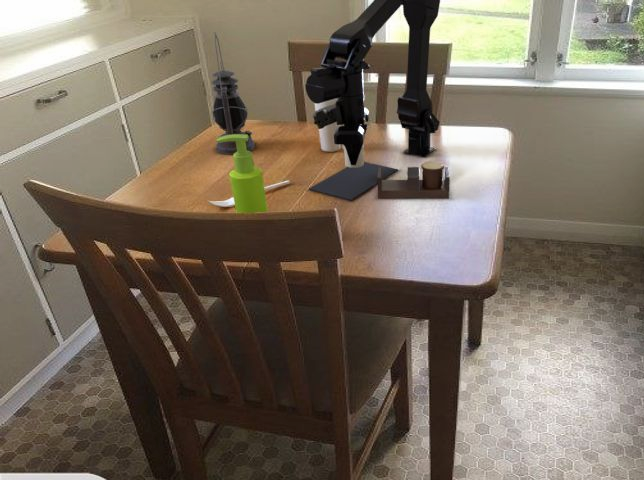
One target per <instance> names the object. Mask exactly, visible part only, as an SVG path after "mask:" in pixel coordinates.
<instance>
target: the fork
mask: <svg viewBox="0 0 644 480" xmlns="http://www.w3.org/2000/svg"><path fill="white" fill-rule="evenodd" d="M288 184H291V181H290V180H285V181H281V182H278V183H274V184H271V185H266V186H264V189H265V192H266V191H269V190H272V189H276V188H279V187H282V186H285V185H288ZM208 202H209V203H210V204H211V205H214V206H216V207H222V208H232V207H235V203H234V197H233V196H232V197H230V198H227V199H225V200H221V201H220V200H218V201H217V200H208Z"/></svg>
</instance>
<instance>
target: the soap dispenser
mask: <svg viewBox="0 0 644 480" xmlns="http://www.w3.org/2000/svg"><path fill="white" fill-rule="evenodd" d="M218 137H219V136H218ZM218 137H217V139H216V142H217V143H222V142H227V141H236V147H237V152H236V153H234V154H233V155H232V157H233V162H234V163H233V164H234V168H233V170H230V171H229V173H228V175H229V180H230V187H231V192H232V197H234V203H235V206H234V207H235V213H255V212H268V213H269V209H268V201H267V197H266V196H267V195H266V191H265V189H264V187H265V182H264V176H263V170H262V168H260V167H259V166H255V164H254V162H255V161H254V155H253V152H252V151H247V148H246V142H245V141H248V138H249V137H248V135H243V134H232V135H226V136H222V137H219V138H218Z"/></svg>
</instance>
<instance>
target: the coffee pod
mask: <svg viewBox="0 0 644 480" xmlns="http://www.w3.org/2000/svg"><path fill="white" fill-rule="evenodd" d="M342 149H343V151H344V154H343V156H344V165H345V167H346V168H347V167H350V168H357V167H361V166H363V165H364V162H365V158H364V157H365V155H364V149H365V143H363V145H362V148H361V151H360V154H359V157H358V160H357V163H356V165H351V163H350V160H349V157H348V154H347V151H346V148H345V146H344V145H343V144H342Z"/></svg>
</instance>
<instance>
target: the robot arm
mask: <svg viewBox="0 0 644 480" xmlns="http://www.w3.org/2000/svg"><path fill="white" fill-rule="evenodd" d="M440 4H441V0H373V1H372V2H371V3H370V4H369V5H368V6H367V8H365V9H364V11H363V12H362V13H360V15H359V16H358V17H357V18H356V19H354V21H350V22H348V23H346V24H343V25H342V26H341V27H339V28H338V29H336V30H334V32H333V33H332V35H331V36H330V38H329V43H328V45H327V48H326V51H325V53H324V56H323V58H322V60H321V62H320V67H313V68H311V69H310V75H309V76H308V77H307V78H306V83H305V92H306V95H307V97H308V99H309V100H310V101H311V102H312V103H313V104H314V103H316V104H319V103H322V102H326V101H329V100H332V99H336V98H337V101H336V103H335V104H332V105H329V106H327V107H324V108H322V109H319V110H317V111H315V110H314V113H313V114H312V118H313V124H314V125H316V127H317V128H319V129H322V128H324V127H325V126H327V125H330V124H333V123H335V122H337V125H341V126H339V127H338V128H337V129H336V131H335V133H334V144H337V145H342V146H343V145H344V146H345V148H346V151H347V154H348V157H349V160H350V163H351V165H356V163H357V160H358V157H359V154H360V151H361V148H362V145H363V144H365V143H364V142H365V139H366V134H367V130H368V127H369V124H367V123H368V122H369V121H370V110H369V109H368V108H366V107H365V101H366V95H365V91H364V89H365V87H364V71H367V70H370V68H371V66H370V64H368V63H367V62H366V61H365V60H364V59H365V58H366V56H367V55H368V52H370V50H371V48H372V46H373V40H374V37H375V36H376V34H378V32H379V31H380V30H381V29H382V27H384V26H385V24H386V23H387V22H388V21H389V20H390V19H391V18H392V16H393V15H394V14H395V13H396V12H397V11H398V9H400V7H401V6H402V9H403V10H402V12H403V16H404V19H405V21H406V24H407V25H408V45H407V46H408V49H407V70H406V71H407V72H406V89H405V91H404V93H403V95H402V96H399V97H398V98H397V102H396V103H397V110H396V114H397V117H398V120H399V122H400V126H401V129H405V130H408V138H407V143H408V144H407V148H406V149H404V150H403V154H406V155H411V156H417V157H421V158H425V157H427V156H429V155H431V153H433V152H435V151H436V147H433V146H431V140H432V139H431V137H432V134H435V133H436V132H437V131H438V130H439V127H440V121H439V119H438V118H437V117H436V116H435V115H434V113H433V101H432V100H431V97H430V95H429V93H428V89H427V87H428V86H427V85H428V71H429V57H430V39H431V28H432V26H433V24H434V23H435V21H436V20H437V18H438V16H439V10H440ZM365 122H366V123H365Z"/></svg>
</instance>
